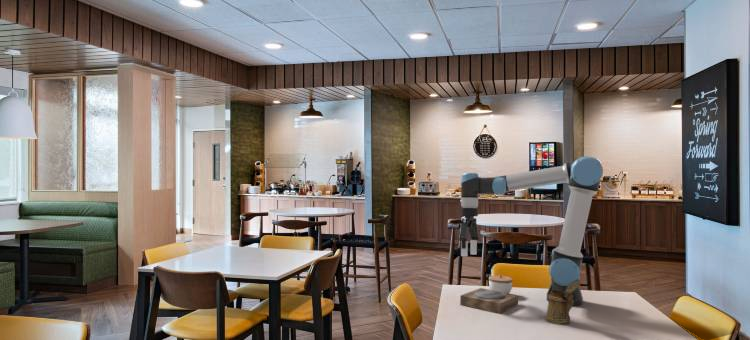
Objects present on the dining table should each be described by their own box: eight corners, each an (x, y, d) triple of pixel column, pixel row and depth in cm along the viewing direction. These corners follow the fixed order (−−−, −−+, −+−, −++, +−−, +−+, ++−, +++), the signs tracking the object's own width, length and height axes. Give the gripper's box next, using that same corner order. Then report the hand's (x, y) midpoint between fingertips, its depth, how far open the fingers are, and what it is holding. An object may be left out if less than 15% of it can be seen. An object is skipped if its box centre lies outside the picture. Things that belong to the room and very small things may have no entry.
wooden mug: (568, 329, 187) (569, 280, 187) (540, 318, 199) (541, 273, 198) (584, 326, 191) (586, 278, 191) (556, 316, 203) (557, 271, 203)
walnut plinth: (518, 304, 219) (518, 294, 219) (499, 313, 205) (499, 302, 205) (480, 296, 230) (480, 287, 230) (460, 304, 216) (460, 294, 216)
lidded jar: (488, 296, 231) (488, 276, 230) (488, 291, 241) (488, 271, 241) (512, 298, 228) (513, 277, 228) (511, 292, 239) (512, 272, 239)
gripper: (469, 208, 240) (469, 253, 238) (452, 206, 218) (451, 256, 216) (485, 208, 237) (485, 254, 235) (469, 206, 215) (468, 257, 213)
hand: (469, 255), depth 226 cm, fingers open, 13 cm apart
